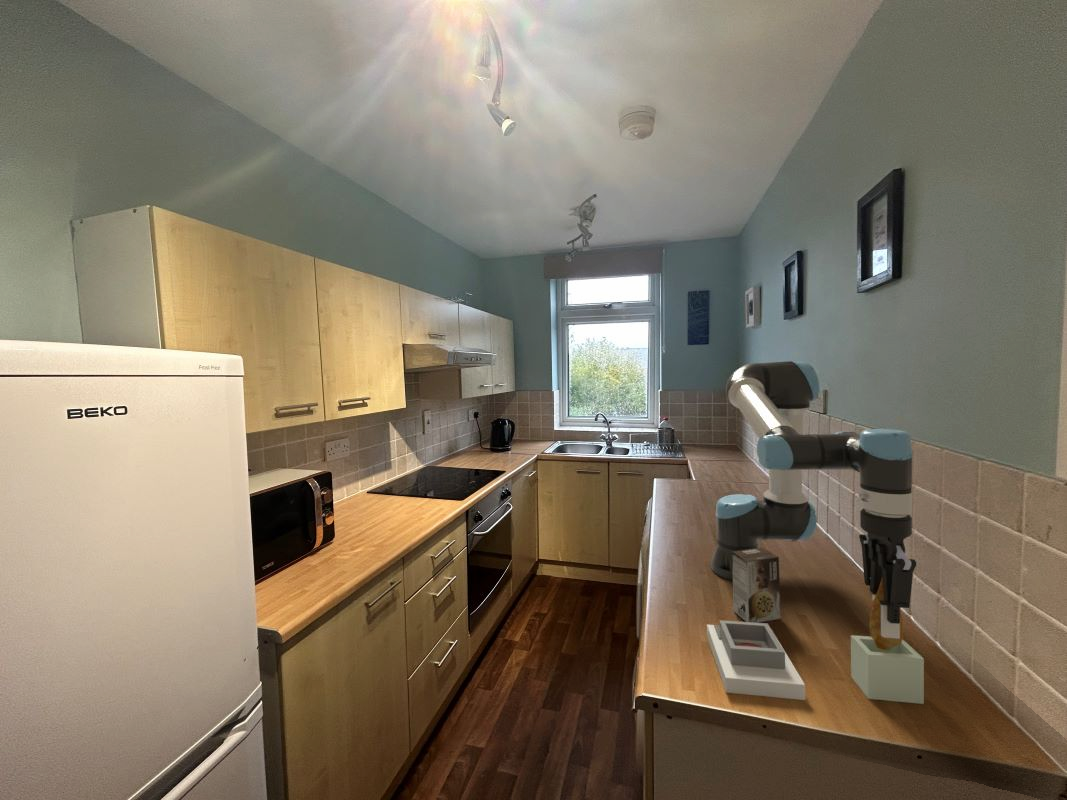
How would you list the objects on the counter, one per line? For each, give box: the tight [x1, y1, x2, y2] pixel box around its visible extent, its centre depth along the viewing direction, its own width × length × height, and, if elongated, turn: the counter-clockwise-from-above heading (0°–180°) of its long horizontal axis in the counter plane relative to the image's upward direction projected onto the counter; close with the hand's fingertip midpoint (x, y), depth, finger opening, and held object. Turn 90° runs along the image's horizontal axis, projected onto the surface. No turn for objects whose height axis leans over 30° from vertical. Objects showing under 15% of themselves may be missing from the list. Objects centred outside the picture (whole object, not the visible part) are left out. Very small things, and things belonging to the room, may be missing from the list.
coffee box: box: [732, 547, 782, 623], centre depth 108 cm, size 9×6×16 cm
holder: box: [850, 634, 925, 705], centre depth 82 cm, size 6×9×9 cm, turn 79°
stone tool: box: [868, 578, 904, 651], centre depth 81 cm, size 5×2×15 cm, turn 81°
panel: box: [706, 619, 806, 701], centre depth 90 cm, size 18×14×6 cm
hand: (885, 632), depth 81 cm, fingers closed on stone tool, 2 cm apart
